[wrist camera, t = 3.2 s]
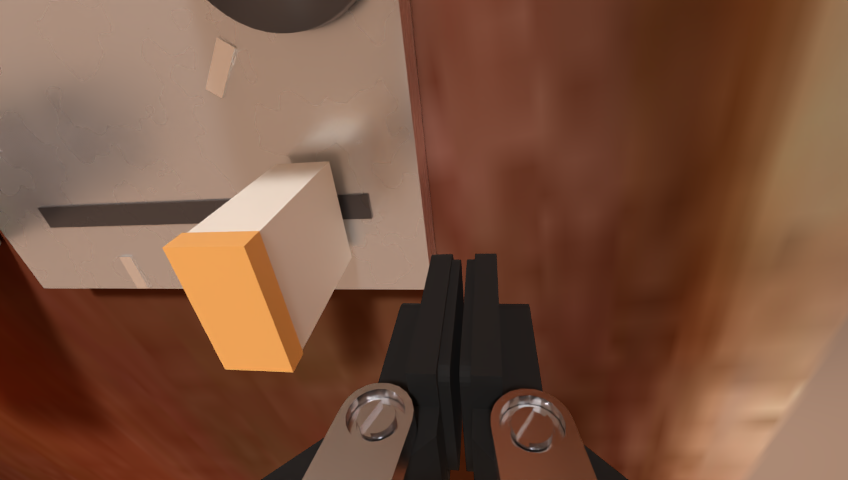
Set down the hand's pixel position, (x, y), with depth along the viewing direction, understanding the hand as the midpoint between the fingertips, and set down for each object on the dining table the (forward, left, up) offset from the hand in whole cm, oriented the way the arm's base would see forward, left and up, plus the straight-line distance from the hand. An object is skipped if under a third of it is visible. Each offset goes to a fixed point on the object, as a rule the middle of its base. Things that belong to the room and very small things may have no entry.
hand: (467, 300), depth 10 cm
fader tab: (+6, -1, -4) cm, 7 cm away
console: (+12, -5, -7) cm, 14 cm away
